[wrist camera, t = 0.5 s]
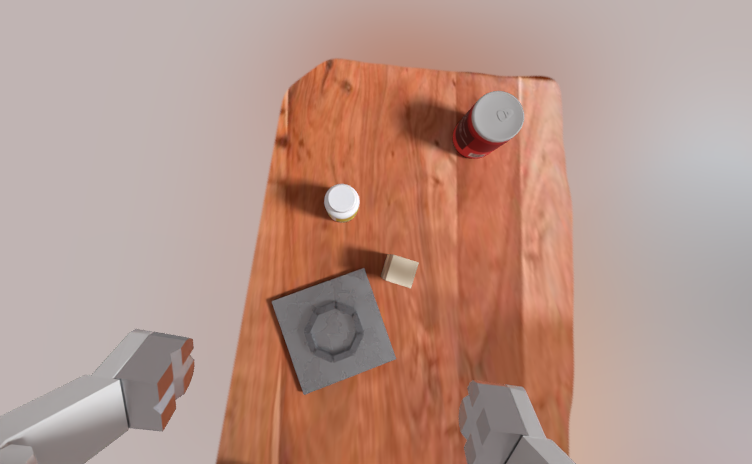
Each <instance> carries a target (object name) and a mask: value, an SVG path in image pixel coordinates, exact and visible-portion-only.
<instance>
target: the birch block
mask: <svg viewBox="0 0 752 464" xmlns="http://www.w3.org/2000/svg"><path fill="white" fill-rule="evenodd" d="M417 267H418V262H415V261H412V260H409V259H406V258H402V257H399V256H396V255H391V254H387V257H386V260H385V264H384V267H383V270H382V273H381V277H382V278H383V279H384V280H386V281H389V282H392V283H396V284H399V285H402V286H405V287H409V288H411V287H412V283H413V280H414V277H415V273H416V270H417Z"/></svg>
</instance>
